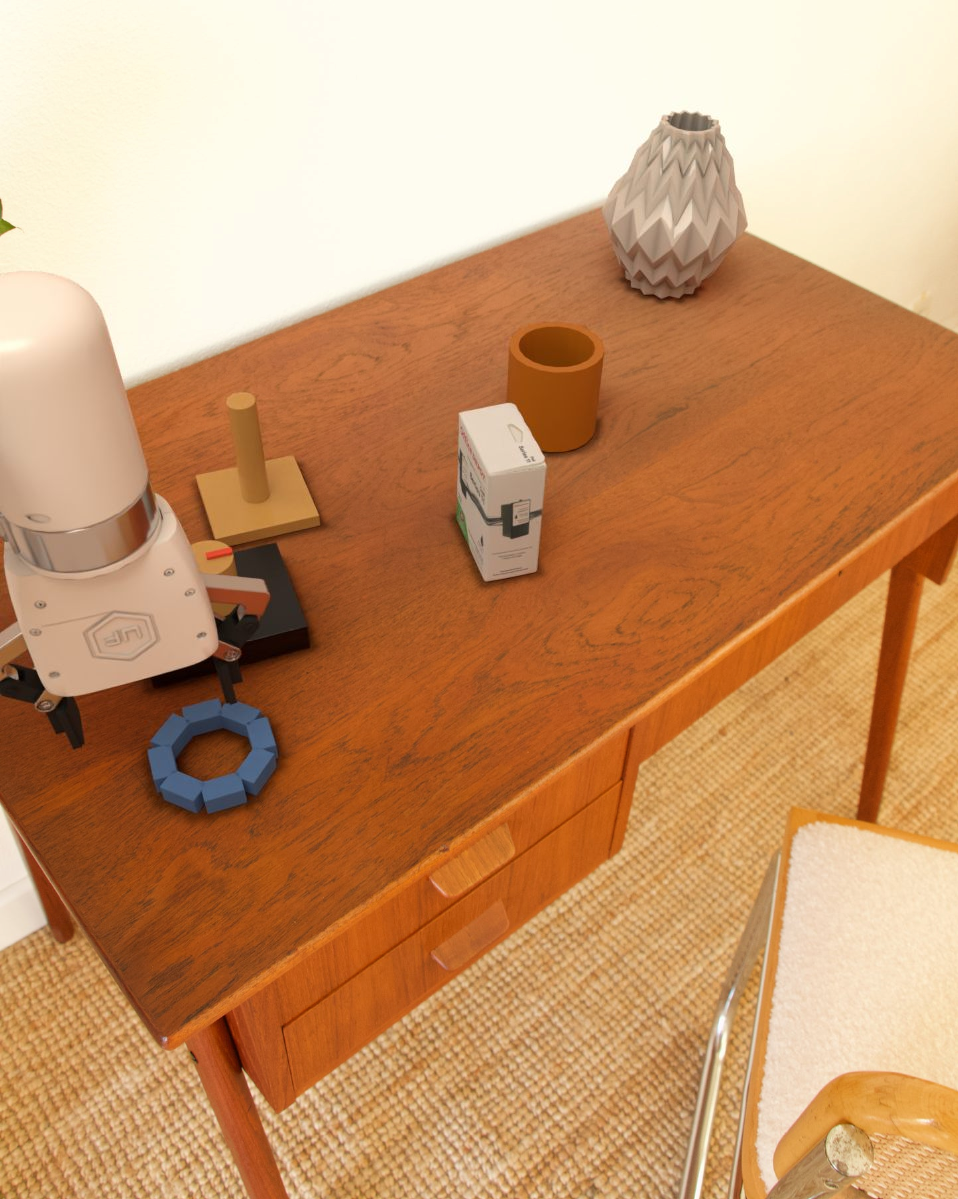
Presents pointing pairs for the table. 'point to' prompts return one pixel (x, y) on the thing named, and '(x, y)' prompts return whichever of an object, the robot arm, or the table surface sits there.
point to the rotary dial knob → (216, 566)
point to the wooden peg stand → (254, 486)
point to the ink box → (500, 490)
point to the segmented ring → (220, 789)
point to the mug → (556, 382)
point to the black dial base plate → (278, 624)
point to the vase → (676, 207)
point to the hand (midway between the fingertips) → (153, 709)
